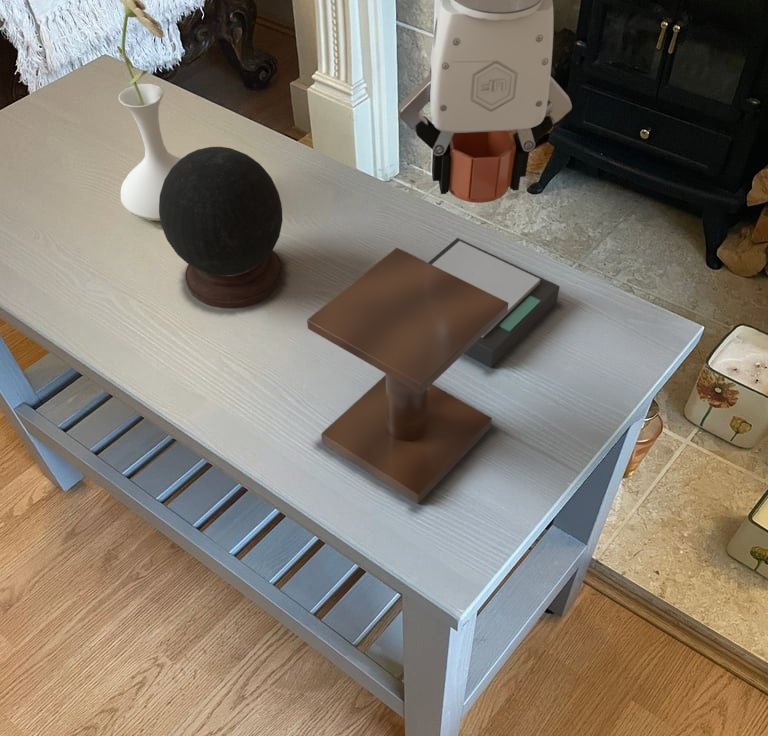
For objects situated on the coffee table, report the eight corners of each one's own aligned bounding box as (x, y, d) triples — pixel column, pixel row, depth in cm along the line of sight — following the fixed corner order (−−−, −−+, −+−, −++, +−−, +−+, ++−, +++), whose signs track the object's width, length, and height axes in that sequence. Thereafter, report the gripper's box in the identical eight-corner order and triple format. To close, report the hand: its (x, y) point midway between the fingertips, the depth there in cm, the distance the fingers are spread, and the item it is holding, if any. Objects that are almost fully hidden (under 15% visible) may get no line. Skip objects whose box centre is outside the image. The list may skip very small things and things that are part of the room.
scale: (556, 303, 91) (561, 281, 88) (491, 368, 85) (493, 347, 83) (456, 254, 96) (457, 233, 93) (388, 313, 90) (387, 291, 88)
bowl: (503, 164, 80) (509, 120, 76) (513, 201, 77) (519, 157, 73) (442, 167, 80) (445, 123, 76) (450, 204, 76) (452, 161, 73)
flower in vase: (220, 221, 100) (173, 2, 80) (127, 237, 99) (56, 18, 78) (206, 163, 108) (160, -51, 87) (120, 177, 106) (53, -38, 85)
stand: (491, 427, 80) (509, 302, 67) (417, 504, 75) (421, 385, 62) (397, 374, 85) (396, 246, 72) (321, 443, 80) (306, 319, 66)
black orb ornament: (300, 244, 97) (286, 125, 85) (277, 318, 90) (258, 199, 78) (195, 236, 99) (166, 117, 86) (163, 309, 91) (127, 190, 79)
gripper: (392, 5, 61) (392, 212, 76) (617, -4, 62) (573, 203, 76) (385, -38, 65) (386, 165, 80) (595, -46, 66) (557, 157, 81)
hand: (477, 182), depth 78 cm, fingers closed on bowl, 6 cm apart
